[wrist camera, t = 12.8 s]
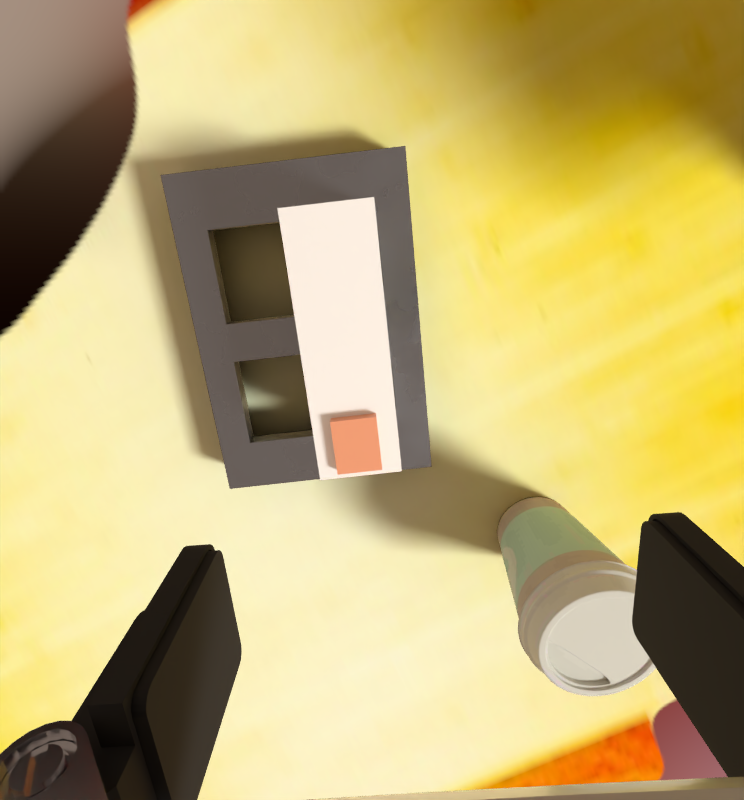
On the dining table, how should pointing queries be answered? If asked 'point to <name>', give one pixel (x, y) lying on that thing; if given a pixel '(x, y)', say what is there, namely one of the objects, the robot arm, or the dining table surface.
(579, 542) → the coffee cup
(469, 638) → the dining table surface
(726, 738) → the robot arm
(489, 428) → the dining table surface
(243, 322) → the grey frame with openings
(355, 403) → the white block orange button
